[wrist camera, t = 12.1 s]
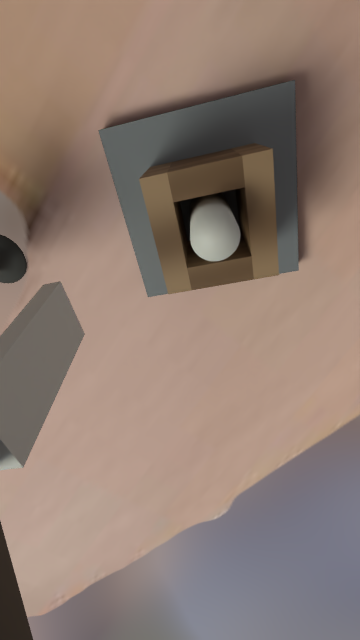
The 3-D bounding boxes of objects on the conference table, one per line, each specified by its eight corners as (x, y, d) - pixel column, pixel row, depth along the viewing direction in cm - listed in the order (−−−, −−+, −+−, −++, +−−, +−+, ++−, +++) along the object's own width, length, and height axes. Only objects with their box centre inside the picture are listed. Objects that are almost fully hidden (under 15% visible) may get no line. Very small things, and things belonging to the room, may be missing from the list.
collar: (149, 167, 24) (139, 178, 19) (254, 142, 23) (272, 148, 18) (172, 263, 28) (168, 294, 23) (262, 246, 27) (279, 274, 22)
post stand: (102, 130, 24) (60, 133, 16) (290, 81, 22) (343, 60, 15) (149, 291, 31) (135, 347, 24) (294, 265, 30) (332, 316, 22)
